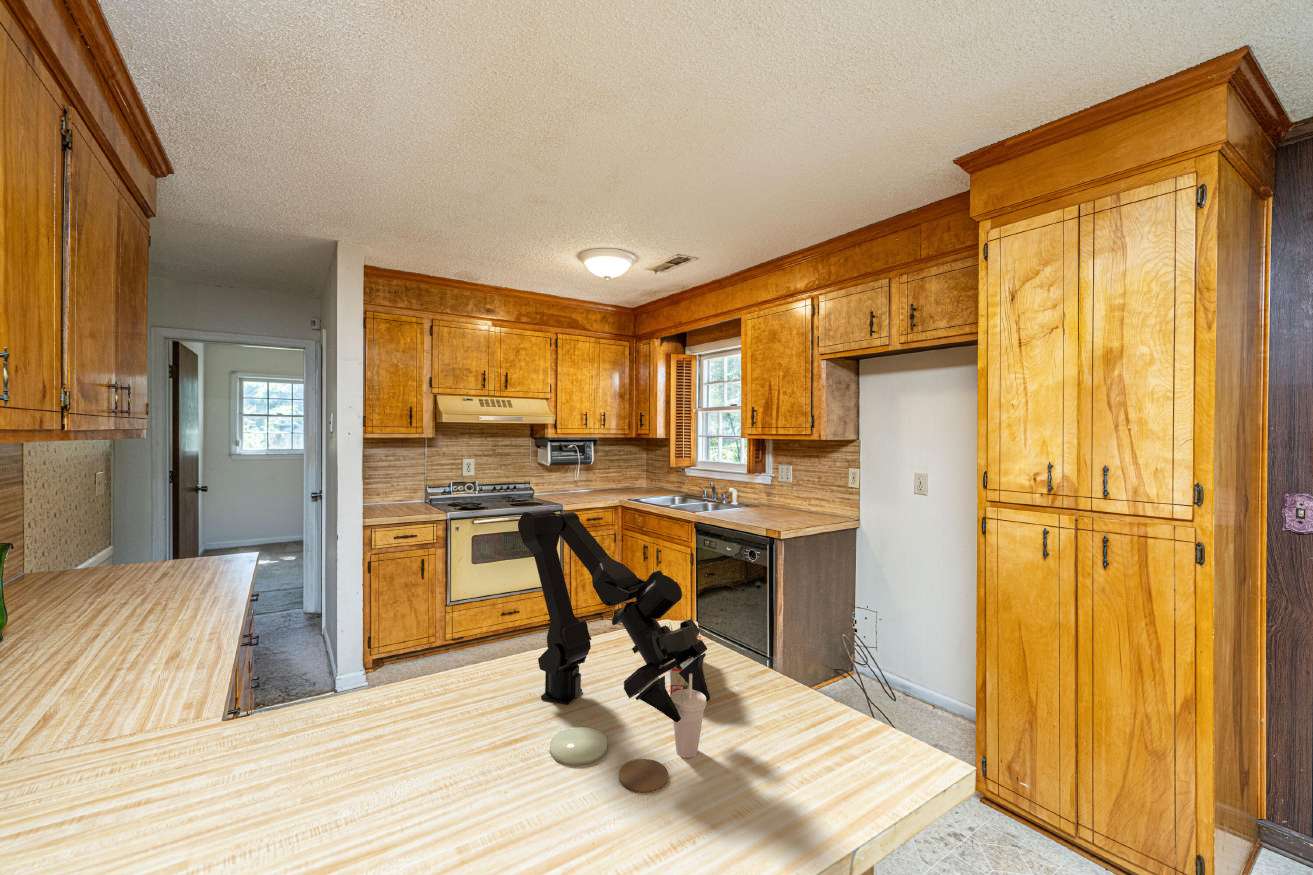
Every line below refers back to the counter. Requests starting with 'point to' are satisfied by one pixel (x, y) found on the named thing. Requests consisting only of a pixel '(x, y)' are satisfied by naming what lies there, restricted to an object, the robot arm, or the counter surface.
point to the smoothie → (688, 719)
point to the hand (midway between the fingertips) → (694, 710)
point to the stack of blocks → (675, 677)
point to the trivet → (643, 775)
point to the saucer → (578, 746)
